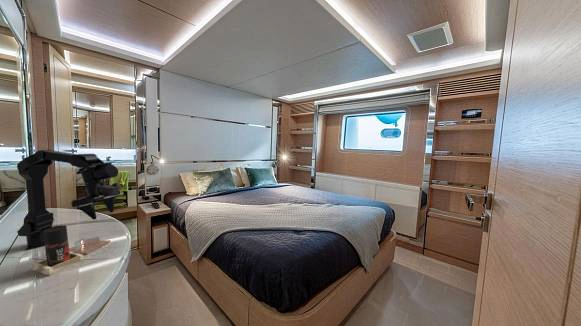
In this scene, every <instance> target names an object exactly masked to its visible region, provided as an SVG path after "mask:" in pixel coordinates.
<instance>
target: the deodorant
mask: <svg viewBox="0 0 581 326" xmlns="http://www.w3.org/2000/svg"><path fill="white" fill-rule="evenodd" d="M43 234H44V242H45V245H44V249H45V256H46V258H45V259H47V266H49V267H53V266H55V265H57V264H60V263H62V262H65V261H67V260H69V259H70V254H69V249H70V247H69V237H68V227H67V225H64V224H63V225H55V226H52V227H50V228H47V229H45V230H44V231H43Z"/></svg>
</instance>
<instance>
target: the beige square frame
mask: <svg viewBox="0 0 581 326" xmlns="http://www.w3.org/2000/svg"><path fill="white" fill-rule="evenodd" d="M69 254H70V259H69V260H67V261H65V262H62V263H60V264H57V265H55V266H53V267H49V266H47V258H44V259H42V260H39V261H36V262H34V263H32V264H31V267H32V271H34V272H37V273H40V274H43V275H46V276H49V277H51V276H53V275H54V274H56V273H60V272H61V270H62V271H64V270H66V269H68V268H71V267H72V266H74V265H76V264H79V263H81V262H84V260H85V259H84V258H85V257H84V254H78V253H74V252H70V251H69Z"/></svg>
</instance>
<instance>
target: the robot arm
mask: <svg viewBox="0 0 581 326" xmlns="http://www.w3.org/2000/svg"><path fill="white" fill-rule="evenodd" d="M54 161H55V162H60V163H68V164H70V165H71V166H73V167H76V168H78V171H76V173H75V174H76V175H81V177H82V181H83V184H84V186H82V187H81V188H82V189H84V190H86V193H87V195H85V196H84V197H80V198H77V199H73V200H72V201H71V203H70V204H71V207H72V208H75V209H78V210H81V211H82V212H83V213H84V214H85V215H87V216H88V217H89V218H91V220H97V214H96V209H95V205H96V204H97V203H96V202H95V201H96V200H100V199H101V200H102V202H103V203H104V205H105V207H106V208H107V211H108V212H109V213H110V214H111V213H114V208H115V202H116V200H117V198H118V197H119V195H121V191H120V190H121V189H122V187H121V185H120V182H114V183H112V184H108V185H107V183H106V182H105V181H104V180H108V179H113V178H116V177H117V176H118V175H119V169H118V168H117V167H116V166H115V165H113V164H112V162H111V161H110V162H109V161H108V162H104V161H103V160H102V159H100V158H99V157H98V156H97V154H95V153H71V152H64V151H59V150H53V149H41V150H37V151H35V152H34V153H33V154H31V155H29V156H26V157H24V158H23V159H22V160H20V161H19V162H18V163H17V165H16V167H17V168H16V169H17V171H18V174H19V175H20V176H21V178H23V179H24V180H25V187H26V188H25V189H26V197H27V206H28V212H27V214H26V215H25V216H24V218H23V225H22V226H21V227H20V228H19V229H18V230H17V232H16V233H17V235H18V237H26V245H25V250H31V249H35V248H39V247H43V246H44V247H45V242H44V234H43V231H44V230H45V229H47V228H50V227H53V223H54V221H55V218H54V212H50V211H49V210H47V207H46V196H45V182H44V178H45V177H46V176H47V174H48V173H49V172H48V171H49V167H50V166H51V165H52V164H53V163H54Z"/></svg>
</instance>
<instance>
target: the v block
mask: <svg viewBox="0 0 581 326" xmlns="http://www.w3.org/2000/svg"><path fill="white" fill-rule="evenodd" d="M110 243H111V240H109V239H108V240H107V239H106V240H105V239H100V235H95V236H92V237H85V238H80V239H78V240H75V241H74V244H73V245H74V246H73V247H70V248H69V251H70V252H74V253H78V254H82V255H89V254H91V253H94V252H95V251H96V250H98V249H100V248H102V247H105V246H106V245H109V244H110Z"/></svg>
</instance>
